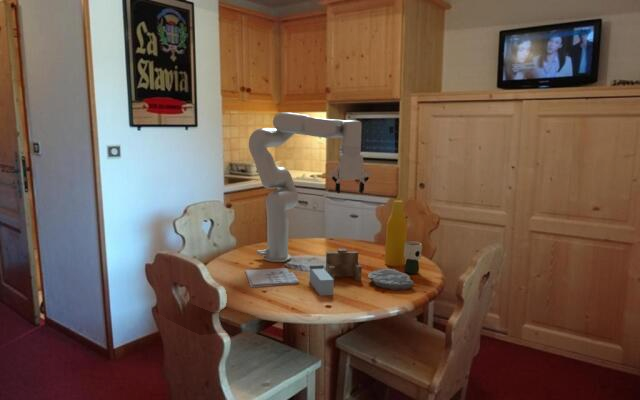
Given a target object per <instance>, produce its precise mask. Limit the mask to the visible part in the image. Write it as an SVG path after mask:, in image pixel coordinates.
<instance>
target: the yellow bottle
mask: <svg viewBox="0 0 640 400" xmlns="http://www.w3.org/2000/svg"><path fill="white" fill-rule="evenodd" d="M392 202H393V203H392V209H391V214H390V216H389V218H388V220H387V222H386V229H385V230H386V233H385V251H384V264H385V265H386V266H388V267H393V268H400V267H405V264H406V258H405V257H404V249H405V242H407V238H408V237H407V236H408V223H407V220H406V218H405V214H404V213H405V212H404V211H405V210H404V201H403V200H398V199H396V200H393V201H392Z"/></svg>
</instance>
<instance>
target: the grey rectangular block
mask: <svg viewBox="0 0 640 400" xmlns="http://www.w3.org/2000/svg"><path fill="white" fill-rule="evenodd" d="M309 282H310V284H311V285H312V287H313V289H315V291H316V292H317V293H318V295H319V296H333V295H334V285H335V284H334V283H335V280H334V279H333V278H332V277H331V276H330V275H329V274H328V273H327V271H326V268H324V264H322V263H321V264H319V263H318V264H309Z"/></svg>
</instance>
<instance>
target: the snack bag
mask: <svg viewBox="0 0 640 400" xmlns="http://www.w3.org/2000/svg"><path fill="white" fill-rule="evenodd" d="M244 273H245V274H246V276H247V280H248V283H249V286H250V287H251V288H258V287H259V288H260V287H270V286H272V287H273V286H284V285H285V286H286V285H298V284H299V283H300V281H299V279H298V278H297V276H296V275H295V274H294V272H293V271H292V272H290V271H289V269H288V268H286V267H285V268H284V267H279V268H262V269H245V270H244Z"/></svg>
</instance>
